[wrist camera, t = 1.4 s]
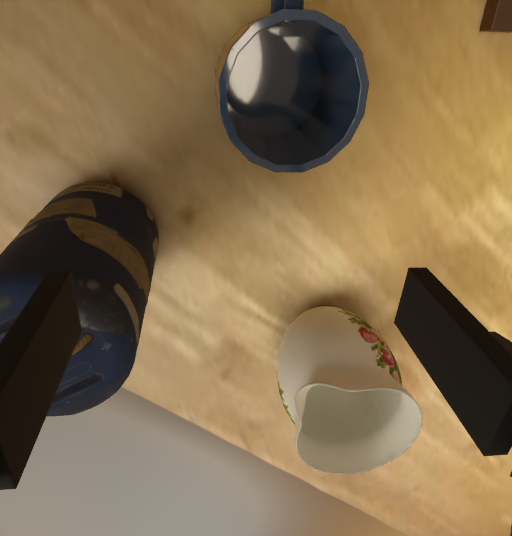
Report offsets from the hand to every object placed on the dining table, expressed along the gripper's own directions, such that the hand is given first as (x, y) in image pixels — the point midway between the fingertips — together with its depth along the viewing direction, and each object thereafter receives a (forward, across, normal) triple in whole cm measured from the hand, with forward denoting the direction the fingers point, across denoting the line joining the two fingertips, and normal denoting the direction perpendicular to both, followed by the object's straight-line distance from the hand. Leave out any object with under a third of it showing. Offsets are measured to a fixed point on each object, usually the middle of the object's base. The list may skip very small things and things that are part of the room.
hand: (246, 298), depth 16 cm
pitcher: (+21, +11, -19) cm, 30 cm away
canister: (+21, -10, -6) cm, 24 cm away
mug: (+21, +3, +8) cm, 23 cm away
